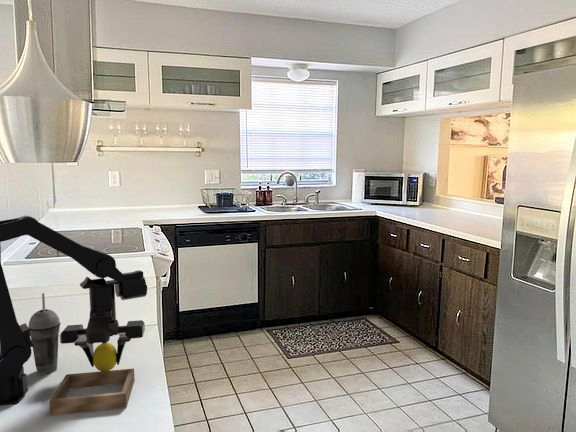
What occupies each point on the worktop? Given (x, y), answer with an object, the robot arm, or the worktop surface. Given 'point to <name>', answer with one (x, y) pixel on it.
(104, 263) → the robot arm
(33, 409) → the worktop surface
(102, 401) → the box
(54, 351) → the beverage cup
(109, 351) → the lemon
